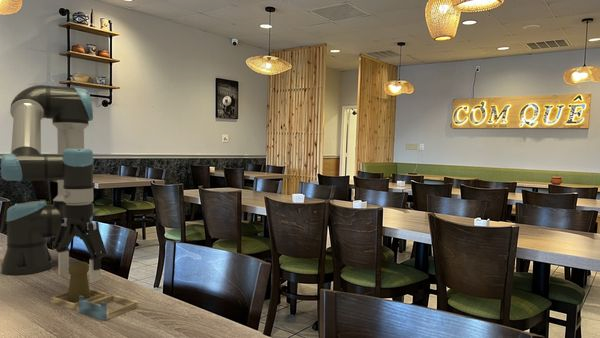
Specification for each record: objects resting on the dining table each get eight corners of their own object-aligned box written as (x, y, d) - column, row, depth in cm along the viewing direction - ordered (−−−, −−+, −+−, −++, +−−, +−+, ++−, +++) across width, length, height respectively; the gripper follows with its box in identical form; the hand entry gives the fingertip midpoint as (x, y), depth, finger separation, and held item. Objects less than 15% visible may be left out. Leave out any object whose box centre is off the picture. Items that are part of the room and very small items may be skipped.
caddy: (48, 303, 118) (48, 287, 118) (83, 291, 128) (83, 277, 128) (104, 320, 108) (104, 303, 108) (138, 306, 117) (138, 291, 117)
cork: (80, 305, 117) (80, 266, 117) (61, 303, 119) (61, 264, 118) (95, 297, 123) (95, 260, 123) (77, 295, 125) (77, 258, 124)
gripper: (38, 201, 122) (39, 273, 123) (96, 208, 110) (96, 288, 111) (63, 198, 128) (63, 267, 130) (120, 205, 117) (120, 280, 118)
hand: (78, 277), depth 121 cm, fingers open, 13 cm apart
